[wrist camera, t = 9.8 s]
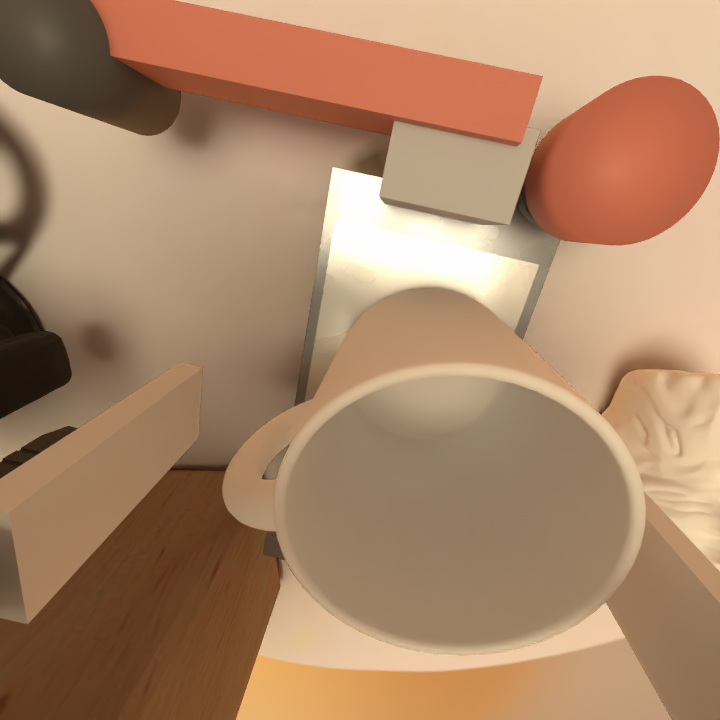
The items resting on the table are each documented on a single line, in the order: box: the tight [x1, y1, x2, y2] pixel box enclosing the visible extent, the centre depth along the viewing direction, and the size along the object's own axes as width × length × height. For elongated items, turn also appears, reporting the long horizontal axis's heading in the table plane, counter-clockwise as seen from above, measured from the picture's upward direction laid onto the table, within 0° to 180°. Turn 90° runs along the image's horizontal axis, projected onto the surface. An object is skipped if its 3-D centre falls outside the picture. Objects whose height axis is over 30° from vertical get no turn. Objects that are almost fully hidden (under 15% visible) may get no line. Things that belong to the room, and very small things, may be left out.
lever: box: [0, 0, 719, 245], centre depth 12 cm, size 20×4×6 cm, turn 78°
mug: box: [222, 288, 646, 656], centre depth 14 cm, size 12×8×10 cm
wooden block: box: [0, 470, 280, 720], centre depth 16 cm, size 10×10×20 cm
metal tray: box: [263, 155, 561, 560], centre depth 17 cm, size 10×20×6 cm, turn 168°
